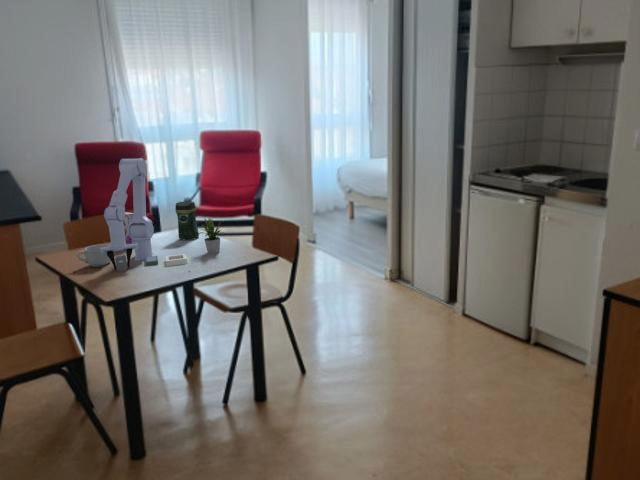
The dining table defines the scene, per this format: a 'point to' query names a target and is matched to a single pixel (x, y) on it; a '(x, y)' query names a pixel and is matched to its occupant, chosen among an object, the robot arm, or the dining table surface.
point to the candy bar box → (126, 224)
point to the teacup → (94, 256)
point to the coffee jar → (187, 220)
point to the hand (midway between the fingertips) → (121, 267)
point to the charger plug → (121, 263)
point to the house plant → (212, 237)
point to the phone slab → (151, 260)
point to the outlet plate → (169, 261)
